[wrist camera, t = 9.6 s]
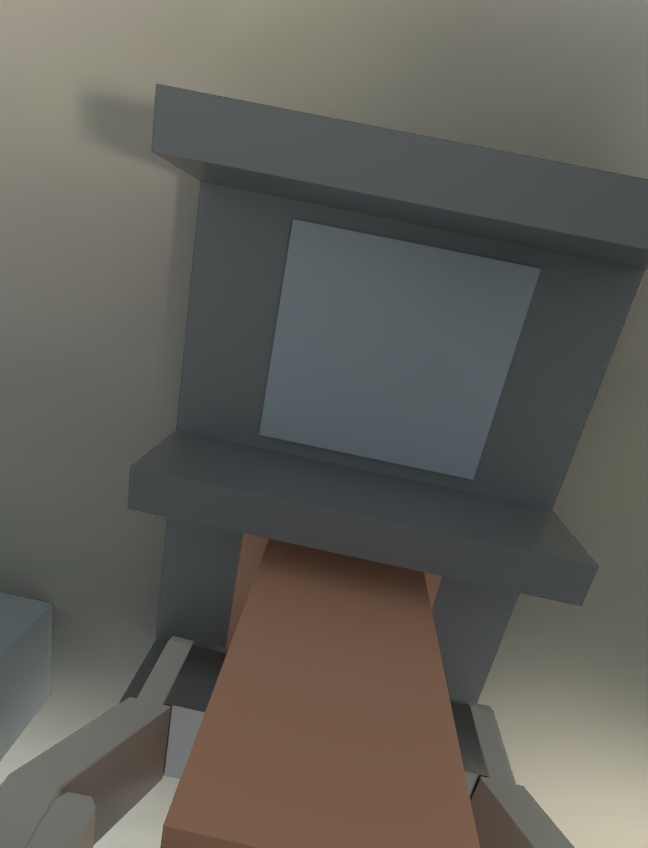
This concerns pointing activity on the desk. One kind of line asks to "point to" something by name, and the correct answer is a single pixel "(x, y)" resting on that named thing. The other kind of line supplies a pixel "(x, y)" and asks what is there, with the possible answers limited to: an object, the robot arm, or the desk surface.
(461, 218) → the slot dock
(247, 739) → the terracotta plug
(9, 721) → the slate-blue plug
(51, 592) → the desk surface
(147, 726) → the robot arm
